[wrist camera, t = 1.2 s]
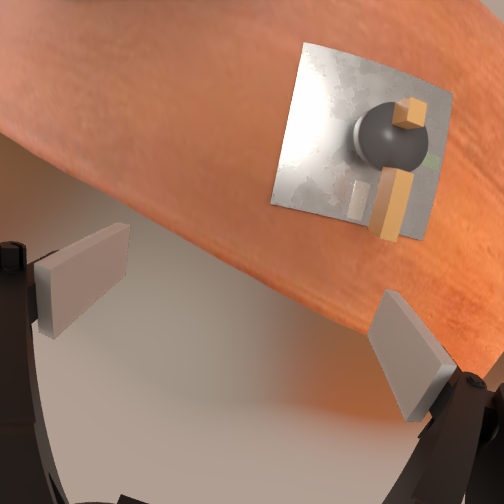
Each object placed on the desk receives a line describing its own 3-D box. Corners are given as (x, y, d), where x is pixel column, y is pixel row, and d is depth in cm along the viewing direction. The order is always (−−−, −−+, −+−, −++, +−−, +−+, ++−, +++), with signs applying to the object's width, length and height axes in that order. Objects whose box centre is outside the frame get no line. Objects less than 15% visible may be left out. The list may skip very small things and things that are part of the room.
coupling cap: (360, 98, 31) (382, 84, 23) (419, 119, 31) (451, 112, 23) (334, 215, 35) (350, 231, 27) (394, 230, 35) (421, 249, 27)
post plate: (303, 45, 35) (307, 28, 29) (449, 95, 35) (470, 89, 29) (270, 202, 41) (270, 209, 35) (419, 238, 41) (437, 250, 35)
